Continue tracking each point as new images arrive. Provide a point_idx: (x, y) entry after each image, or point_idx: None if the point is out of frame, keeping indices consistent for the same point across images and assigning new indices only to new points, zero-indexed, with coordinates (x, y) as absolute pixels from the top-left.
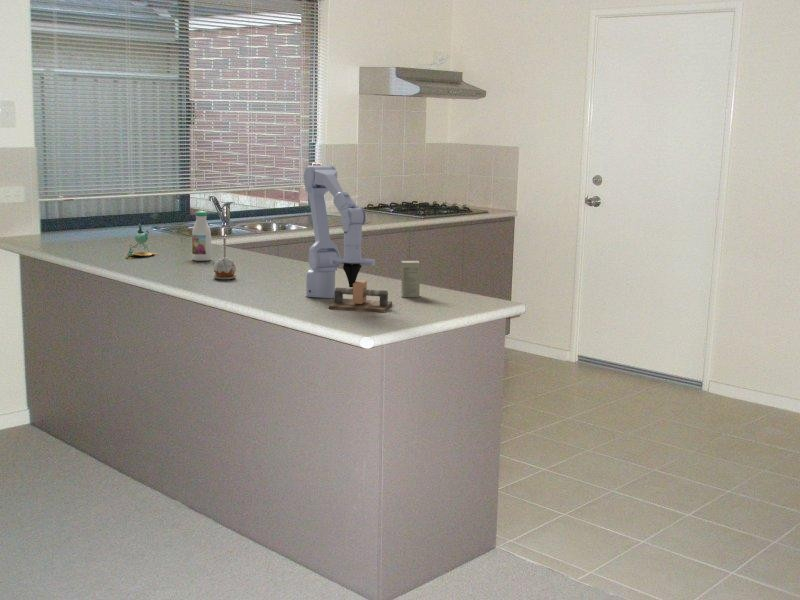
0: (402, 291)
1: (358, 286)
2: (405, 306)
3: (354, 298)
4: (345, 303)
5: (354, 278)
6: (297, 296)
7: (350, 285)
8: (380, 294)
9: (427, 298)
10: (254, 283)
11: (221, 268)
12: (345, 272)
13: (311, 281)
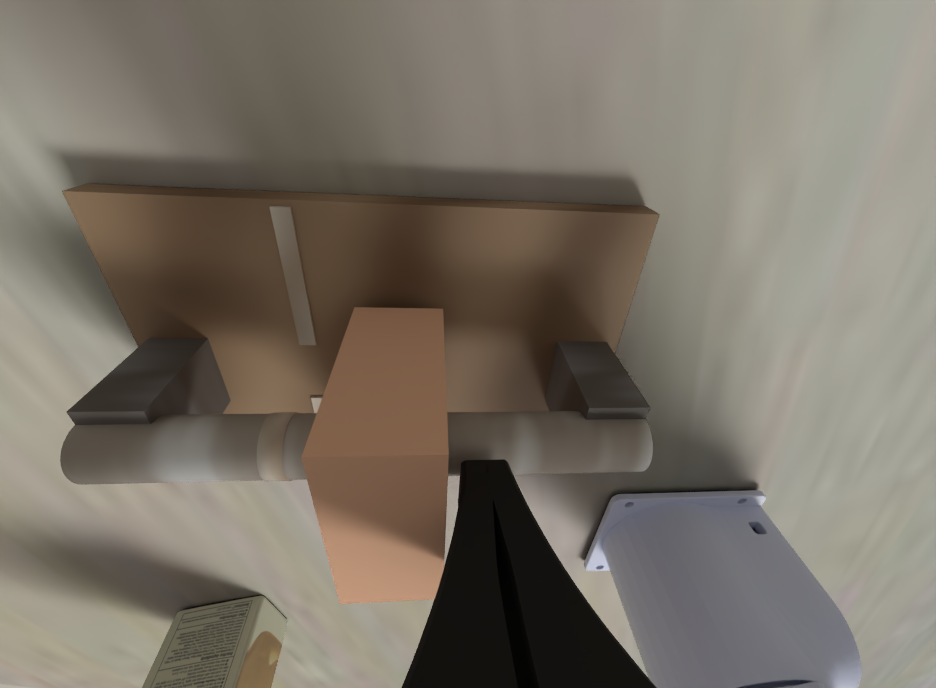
0: (249, 630)
1: (367, 428)
2: None
3: (426, 333)
4: (515, 345)
5: (446, 564)
6: (802, 490)
7: (495, 474)
8: (136, 408)
9: (132, 608)
10: (914, 608)
11: None
12: (625, 657)
13: (794, 591)
